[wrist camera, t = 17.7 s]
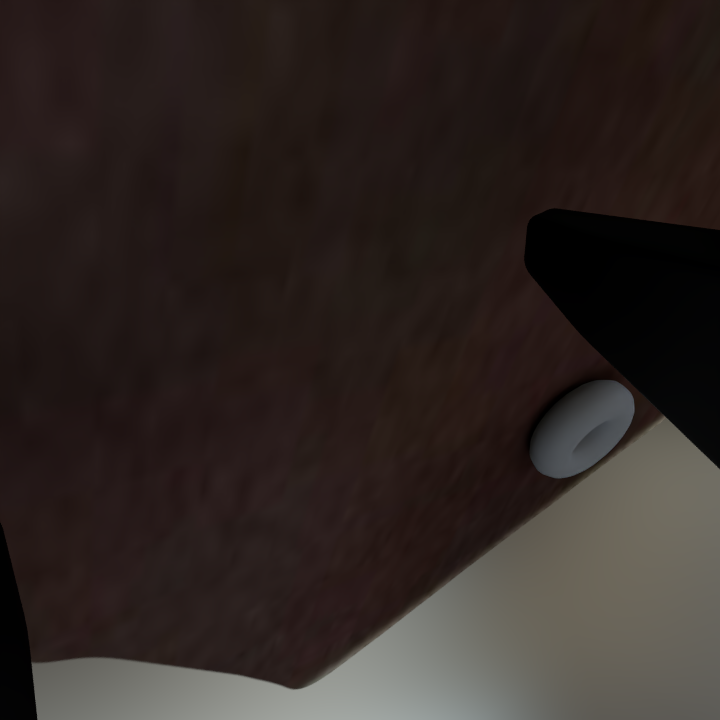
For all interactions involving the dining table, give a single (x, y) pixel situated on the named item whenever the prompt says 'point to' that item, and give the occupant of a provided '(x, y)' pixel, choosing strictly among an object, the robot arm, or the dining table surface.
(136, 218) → the dining table surface
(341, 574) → the dining table surface
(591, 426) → the donut
